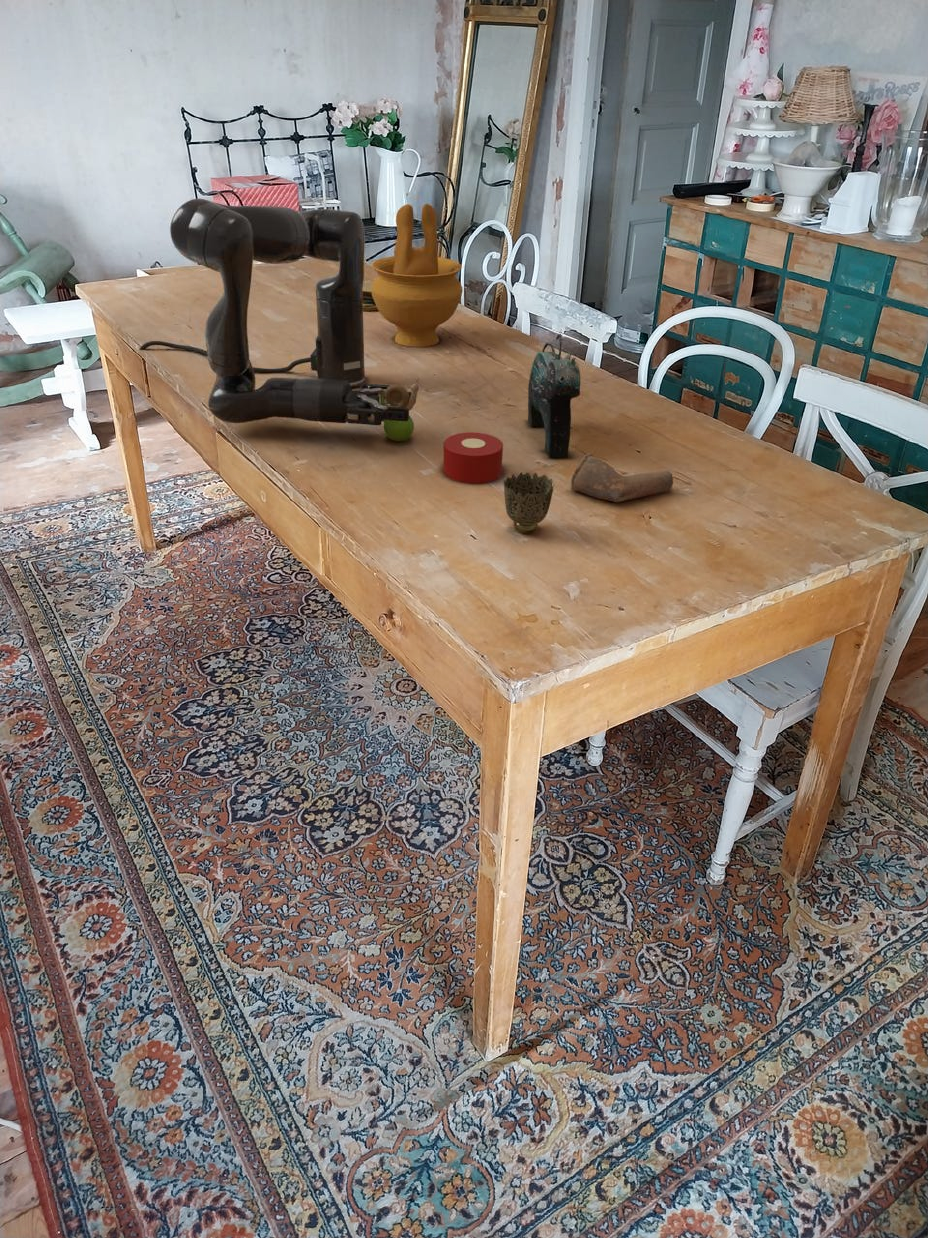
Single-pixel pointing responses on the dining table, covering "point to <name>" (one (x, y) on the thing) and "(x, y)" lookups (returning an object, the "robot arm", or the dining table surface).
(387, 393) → the snail figurine
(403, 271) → the decorative bowl
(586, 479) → the pipe
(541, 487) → the cup
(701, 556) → the dining table surface
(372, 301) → the toy sandwich meal
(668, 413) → the dining table surface
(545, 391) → the ceramic cat
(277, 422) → the dining table surface
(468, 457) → the cheese
